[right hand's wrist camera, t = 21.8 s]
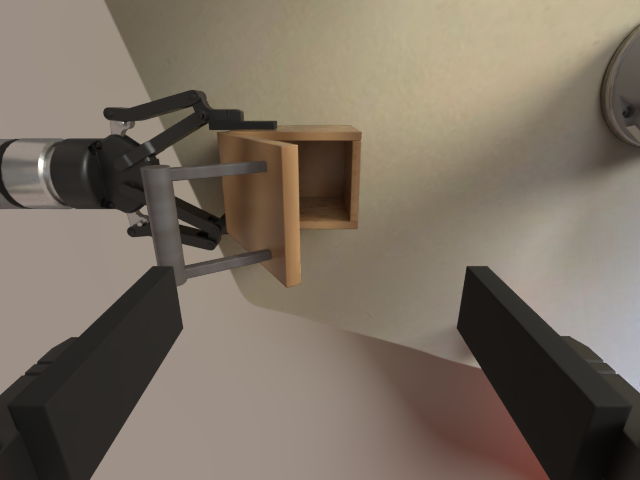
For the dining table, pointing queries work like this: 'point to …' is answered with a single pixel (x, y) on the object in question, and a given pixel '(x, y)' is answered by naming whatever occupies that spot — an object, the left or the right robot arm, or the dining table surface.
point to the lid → (235, 207)
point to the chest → (323, 172)
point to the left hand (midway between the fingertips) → (277, 174)
